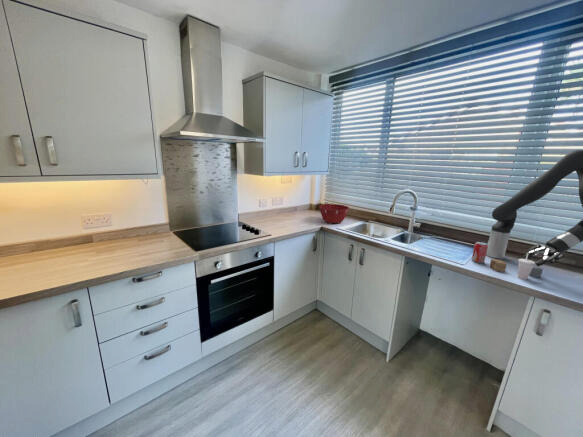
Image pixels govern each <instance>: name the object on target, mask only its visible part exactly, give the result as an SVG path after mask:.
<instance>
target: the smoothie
mask: <svg viewBox="0 0 583 437" xmlns="http://www.w3.org/2000/svg"><path fill="white" fill-rule="evenodd" d="M526 254H527V256H526V259H524V258H519V259H518V269H517V270H518V271H517V278H519V279H521V280H528V278H529V277H530V276H529V274H530V272H531V270H532V268H533V266H534V265H536V264H535V263H536V261H533V260H532V259H531V260H530V259H527V258H528V254H529V252H527V253H526Z"/></svg>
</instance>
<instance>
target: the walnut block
mask: <svg viewBox="0 0 583 437" xmlns="http://www.w3.org/2000/svg"><path fill="white" fill-rule="evenodd" d="M507 264H508V263H506V262H505V261H504V260H503V259H495V258H491V259H490V263H489V268H490V269H492V270H493V271H495V272H503V273H504V272H505V271H506V268H507Z"/></svg>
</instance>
